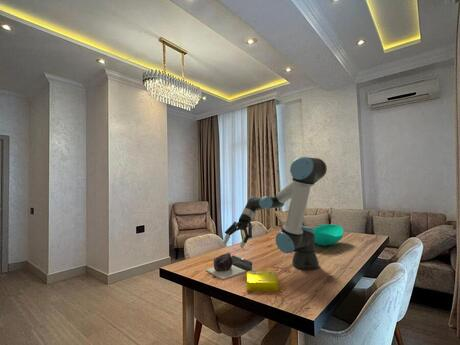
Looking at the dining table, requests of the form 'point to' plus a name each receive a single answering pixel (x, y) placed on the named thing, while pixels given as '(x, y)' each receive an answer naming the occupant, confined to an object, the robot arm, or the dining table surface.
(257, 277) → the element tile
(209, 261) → the dining table surface
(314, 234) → the robot arm
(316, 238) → the table top decor
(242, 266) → the metal rail
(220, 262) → the rock
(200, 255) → the dining table surface
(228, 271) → the felt mat
